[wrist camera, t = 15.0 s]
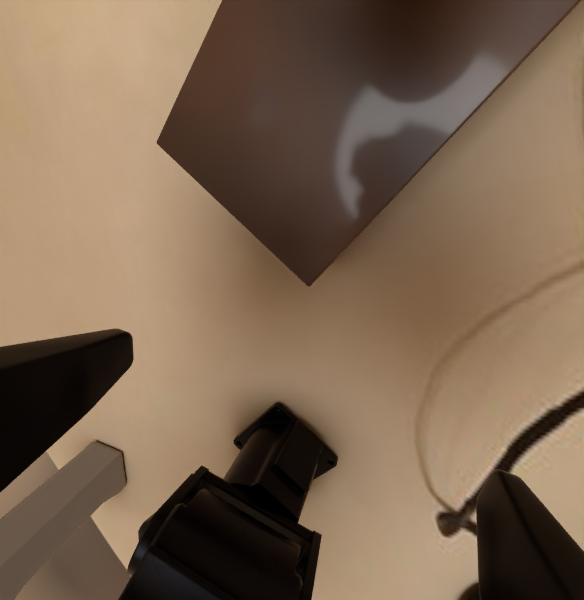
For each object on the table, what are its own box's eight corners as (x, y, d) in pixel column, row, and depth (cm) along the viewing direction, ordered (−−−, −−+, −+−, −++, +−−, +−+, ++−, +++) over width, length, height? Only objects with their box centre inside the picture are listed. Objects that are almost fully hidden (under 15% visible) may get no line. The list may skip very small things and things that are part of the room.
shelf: (331, 262, 20) (308, 287, 15) (212, 150, 20) (155, 142, 15) (614, -36, 12) (731, -158, 8) (419, -216, 12) (424, -440, 8)
